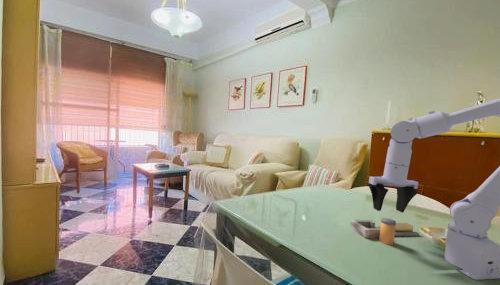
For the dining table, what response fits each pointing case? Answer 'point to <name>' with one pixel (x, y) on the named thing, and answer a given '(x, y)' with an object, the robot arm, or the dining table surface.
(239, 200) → the dining table surface
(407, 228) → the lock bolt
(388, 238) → the cylinder
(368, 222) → the mount
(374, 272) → the dining table surface
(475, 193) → the robot arm
